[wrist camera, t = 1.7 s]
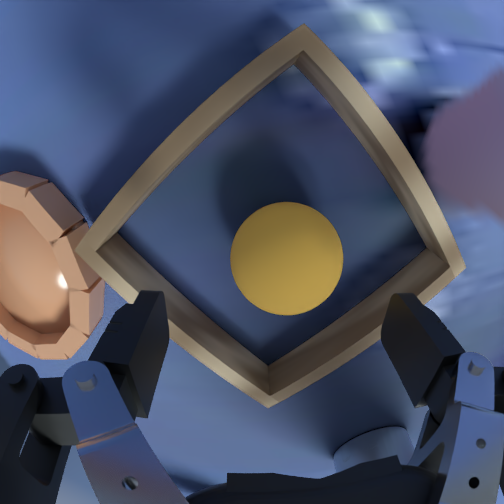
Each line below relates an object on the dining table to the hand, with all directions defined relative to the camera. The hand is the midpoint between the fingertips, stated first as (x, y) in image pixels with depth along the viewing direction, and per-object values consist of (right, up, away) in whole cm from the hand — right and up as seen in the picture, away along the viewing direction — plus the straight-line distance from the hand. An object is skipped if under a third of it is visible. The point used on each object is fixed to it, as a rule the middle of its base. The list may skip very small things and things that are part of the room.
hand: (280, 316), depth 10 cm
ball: (+1, +2, +5) cm, 5 cm away
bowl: (-18, +1, +8) cm, 20 cm away
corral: (+1, +3, +7) cm, 8 cm away
